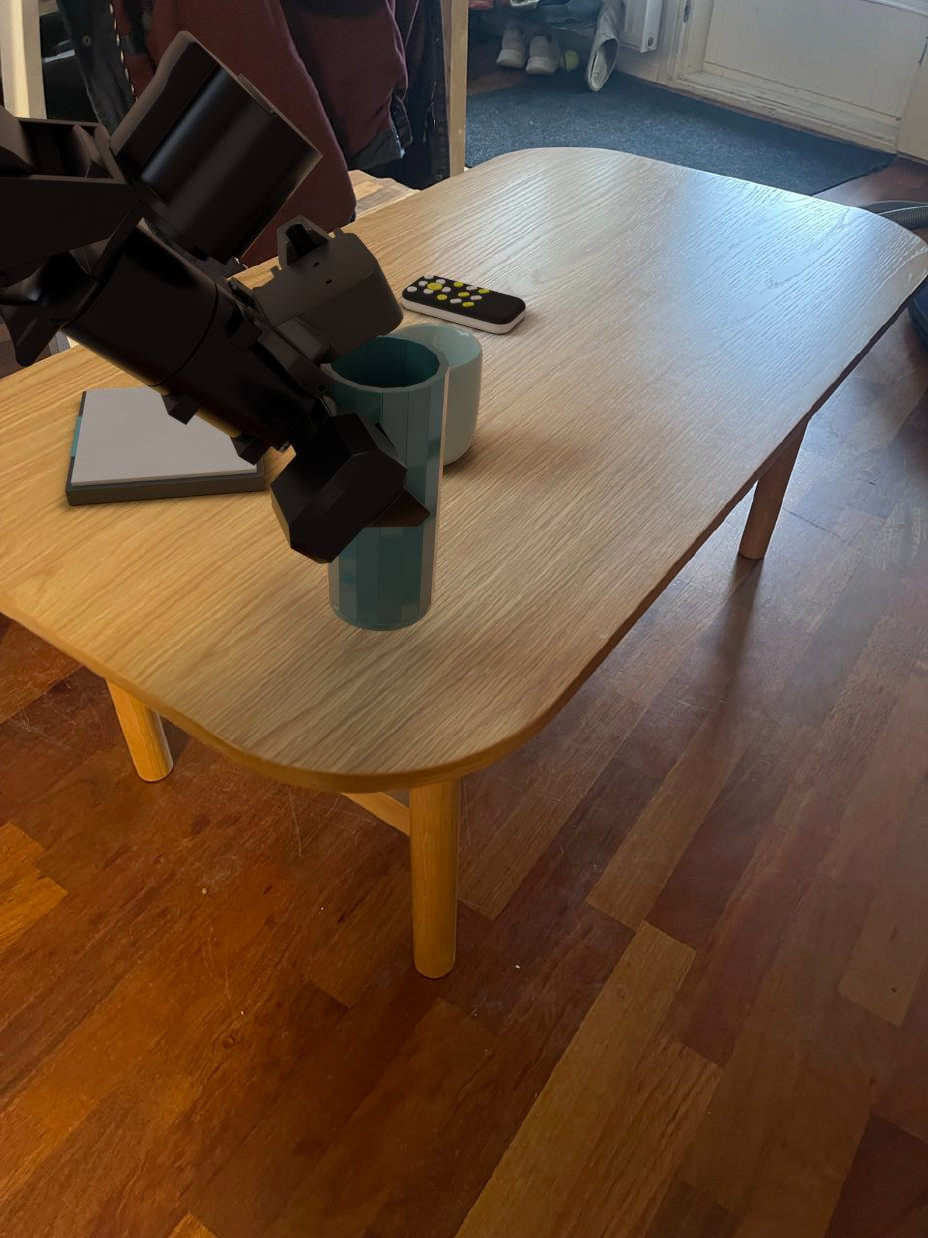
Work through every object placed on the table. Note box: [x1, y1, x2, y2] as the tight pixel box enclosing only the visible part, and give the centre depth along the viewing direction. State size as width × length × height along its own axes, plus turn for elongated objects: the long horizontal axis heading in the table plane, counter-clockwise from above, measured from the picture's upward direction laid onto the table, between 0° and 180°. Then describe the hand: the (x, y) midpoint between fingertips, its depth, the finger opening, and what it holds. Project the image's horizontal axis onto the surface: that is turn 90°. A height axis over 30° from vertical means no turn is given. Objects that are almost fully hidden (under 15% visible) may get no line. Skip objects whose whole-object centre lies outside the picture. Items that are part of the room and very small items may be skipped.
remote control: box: [401, 273, 527, 334], centre depth 100 cm, size 6×13×2 cm, turn 63°
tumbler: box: [320, 332, 449, 632], centre depth 54 cm, size 7×7×16 cm
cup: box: [391, 322, 484, 467], centre depth 77 cm, size 8×8×10 cm
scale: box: [64, 385, 266, 506], centre depth 79 cm, size 15×15×2 cm
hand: (402, 483), depth 54 cm, fingers closed on tumbler, 7 cm apart
